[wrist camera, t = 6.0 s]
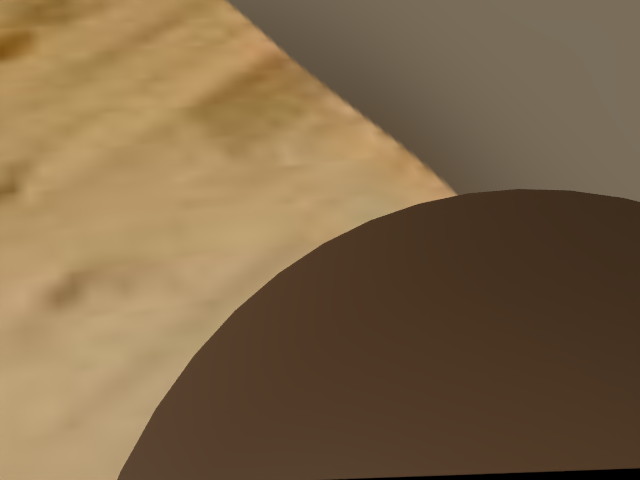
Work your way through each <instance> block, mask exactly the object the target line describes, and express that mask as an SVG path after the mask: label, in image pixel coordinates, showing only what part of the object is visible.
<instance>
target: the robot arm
mask: <svg viewBox="0 0 640 480" xmlns="http://www.w3.org/2000/svg"><path fill="white" fill-rule="evenodd" d="M541 473H542V476H543V478H544V480H562V471H548V472H541Z"/></svg>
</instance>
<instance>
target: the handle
mask: <svg viewBox="0 0 640 480" xmlns="http://www.w3.org/2000/svg"><path fill="white" fill-rule="evenodd" d="M548 471H562V480H640V202H637V201H633V200H629V199H625V198H619V197H611V196H605V195H597V194H590V193H582V192H576V191H564V190H563V191H562V190H561V191H560V190H526V189H515V190H504V191H493V192H481V193H470V194H464V195H459V196H454V197H449V198H444V199H440V200H435V201H430V202H426V203H421V204H417V205H414V206H411V207H408V208H405V209H402V210H399V211H397V212H394V213H391V214H388V215H385V216H382V217H379V218H376V219H373V220H371V221H368V222H366V223H364V224H362V225H360V226H358V227H356V228H354V229H352V230H350V231H348V232H346V233H344V234H342V235H340V236H338V237H336V238H334V239H332V240H330V241H328V242H326V243H324V244H322V245H321V246H319V247H318V248H316V249H315V250H313V251H312V252H310V253H309V254H307V255H306V256H304V257H303V258H301V259H300V260H298V261H297V262H295V263H294V264H292V265H290V266H289V267H287V268H286V269H284V270H283V271H281V272H280V273H278V274H277V275H276V276H275V277H274V278H273V279H271V280H270V281H269V282H268V283H267V284H266V285H264V286H263V287H262V288H261V289H260V290H259V291H257V292H256V293H255V294H254V295H253V296H252V297H250V298H249V299H248V300H247V301H246V302H245V303H243V304H242V305H241V306H240V307H239V308H238V309H237V310H235V311H234V313H233V314H232V315H231V316H230V317H229V318H228V319H227V320H226V321H225V322H224V323H223V325H222V326H221V327H220V328H219V329H218V330H217V331H216V332H215V333H214V334H213V336H212V337H211V338H210V339H209V340H208V341H207V342H206V343H205V344H204V345H203V346H202V348H201V349H200V350H199V351H198V352H197V353H196V354H195V355H194V357H193V358H192V359H191V361H190V362H189V364H188V365H187V366H186V368H185V369H184V371H183V372H182V373H181V375H180V376H179V377H178V379H177V380H176V382H175V383H174V384H173V386H172V387H171V389H170V390H169V391H168V393H167V394H166V396H165V397H164V398H163V400H162V401H161V403H160V404H159V405H158V407H157V408H156V410H155V411H154V413H153V415H152V417H151V419H150V420H149V422H148V424H147V426H146V427H145V429H144V431H143V433H142V435H141V436H140V438H139V440H138V442H137V444H136V445H135V447H134V449H133V451H132V452H131V454H130V456H129V458H128V460H127V461H126V463H125V465H124V467H123V468H122V470H121V472H120V474H119V477H118V479H117V480H544V478H543V476H542V473H541V472H548Z"/></svg>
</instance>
